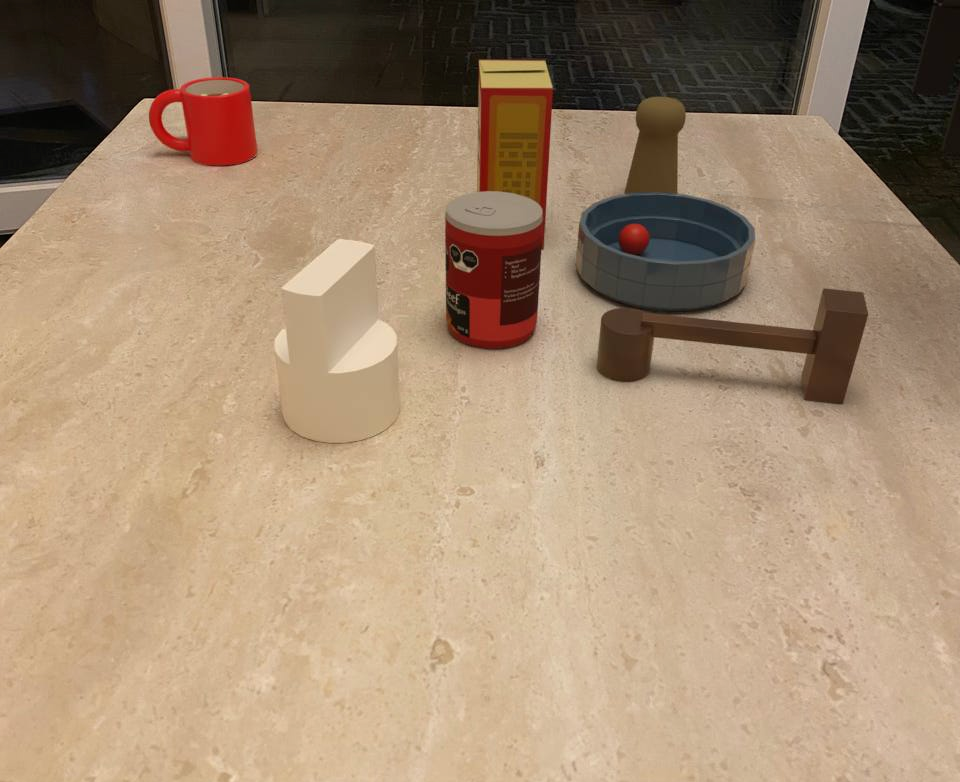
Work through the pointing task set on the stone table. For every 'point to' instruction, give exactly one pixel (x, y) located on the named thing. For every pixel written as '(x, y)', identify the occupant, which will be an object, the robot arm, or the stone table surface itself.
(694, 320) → the wooden mallet
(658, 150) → the cork
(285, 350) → the base with upright slab
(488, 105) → the baking soda box
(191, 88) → the mug
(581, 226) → the bowl
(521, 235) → the canned food
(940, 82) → the robot arm
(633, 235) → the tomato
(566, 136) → the stone table surface
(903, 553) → the stone table surface
